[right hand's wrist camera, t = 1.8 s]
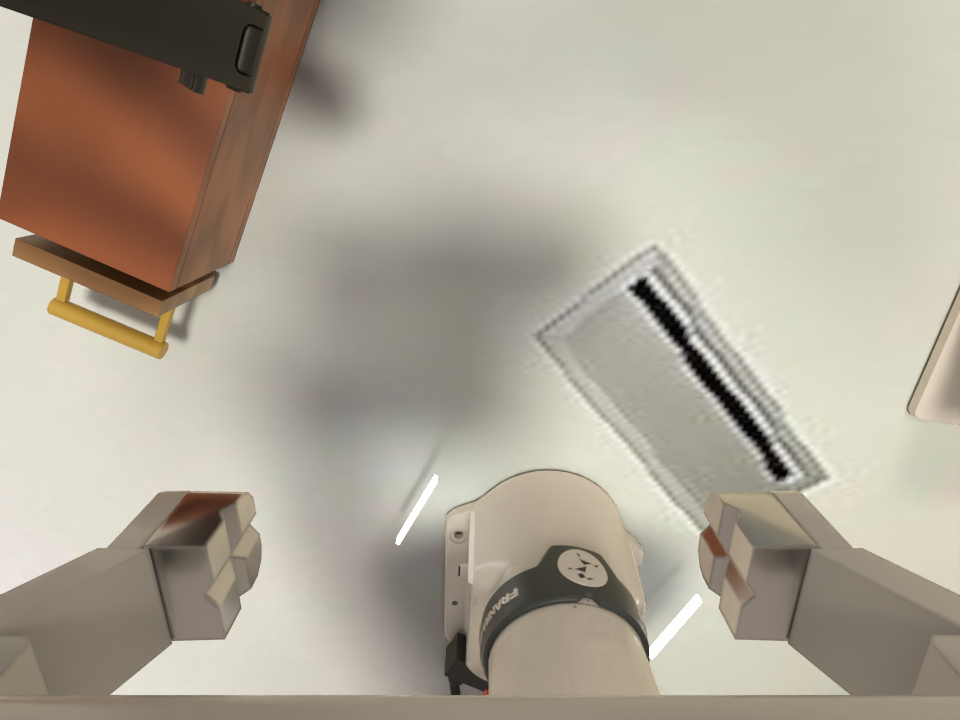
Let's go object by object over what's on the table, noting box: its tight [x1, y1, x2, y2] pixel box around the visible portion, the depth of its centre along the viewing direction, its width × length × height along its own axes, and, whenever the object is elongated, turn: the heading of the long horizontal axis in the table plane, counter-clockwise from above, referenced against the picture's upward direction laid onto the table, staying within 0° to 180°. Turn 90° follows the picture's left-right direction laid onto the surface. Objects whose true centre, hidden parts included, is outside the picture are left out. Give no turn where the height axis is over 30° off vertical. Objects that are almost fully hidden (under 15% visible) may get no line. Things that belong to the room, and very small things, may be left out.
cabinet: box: [0, 0, 320, 292], centre depth 36 cm, size 22×10×10 cm, turn 154°
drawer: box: [13, 234, 215, 359], centre depth 37 cm, size 26×9×8 cm, turn 154°
